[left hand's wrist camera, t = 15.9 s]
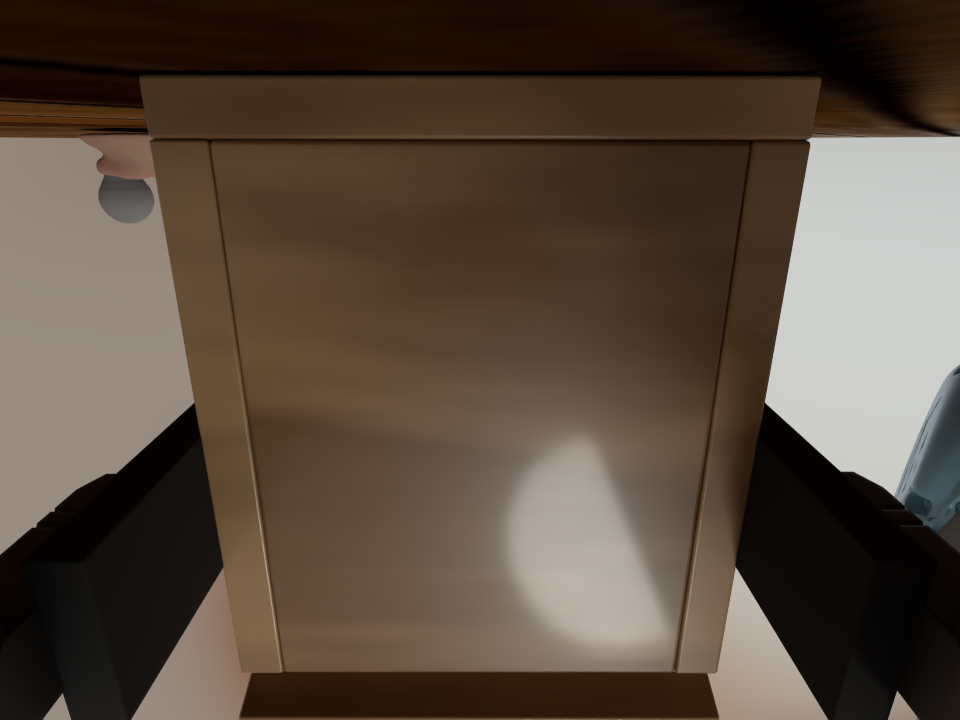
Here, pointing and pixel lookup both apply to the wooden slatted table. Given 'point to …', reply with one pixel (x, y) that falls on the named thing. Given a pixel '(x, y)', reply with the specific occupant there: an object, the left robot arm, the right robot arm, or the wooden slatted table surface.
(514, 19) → the wooden slatted table surface
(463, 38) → the wooden slatted table surface
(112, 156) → the anatomical model
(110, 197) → the light bulb
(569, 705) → the lid
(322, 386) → the chest
